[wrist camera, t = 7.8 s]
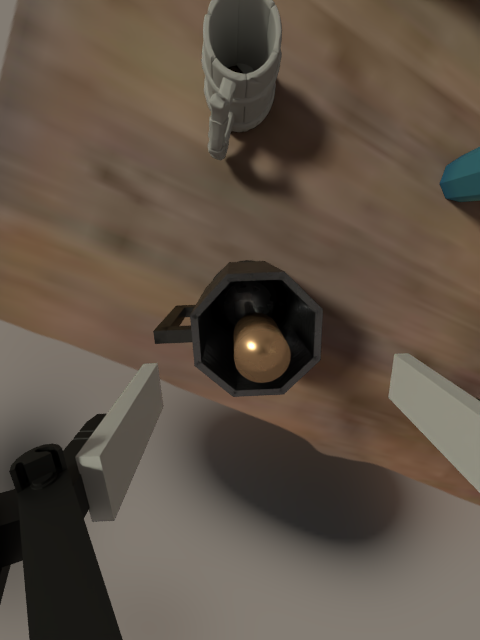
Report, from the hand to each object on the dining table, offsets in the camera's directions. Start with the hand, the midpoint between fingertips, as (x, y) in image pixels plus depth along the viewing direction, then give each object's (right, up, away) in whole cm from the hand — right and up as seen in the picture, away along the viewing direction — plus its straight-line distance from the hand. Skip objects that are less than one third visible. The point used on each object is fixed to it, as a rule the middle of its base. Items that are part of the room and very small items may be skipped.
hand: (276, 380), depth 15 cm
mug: (-3, +27, +17) cm, 32 cm away
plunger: (-1, +5, +21) cm, 22 cm away
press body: (-3, +6, +22) cm, 23 cm away
